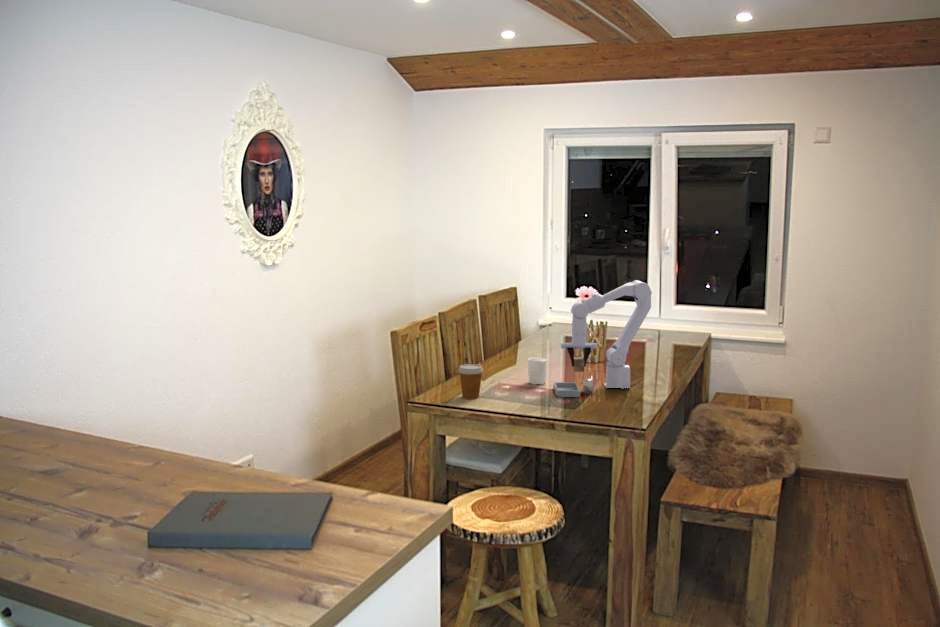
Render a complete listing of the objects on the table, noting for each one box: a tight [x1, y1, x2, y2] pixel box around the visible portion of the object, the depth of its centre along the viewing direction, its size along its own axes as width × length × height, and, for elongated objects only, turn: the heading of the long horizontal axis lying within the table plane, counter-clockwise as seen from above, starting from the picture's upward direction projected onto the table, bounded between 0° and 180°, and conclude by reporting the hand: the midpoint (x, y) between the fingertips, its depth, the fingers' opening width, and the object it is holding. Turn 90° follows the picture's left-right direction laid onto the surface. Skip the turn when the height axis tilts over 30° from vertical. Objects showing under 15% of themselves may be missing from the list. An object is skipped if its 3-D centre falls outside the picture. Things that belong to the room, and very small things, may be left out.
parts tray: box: [553, 381, 581, 398], centre depth 311 cm, size 9×14×2 cm, turn 179°
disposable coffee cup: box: [458, 363, 484, 400], centre depth 303 cm, size 10×10×12 cm
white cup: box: [527, 356, 548, 385], centre depth 327 cm, size 8×8×10 cm
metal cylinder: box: [582, 378, 594, 394], centre depth 312 cm, size 4×4×5 cm
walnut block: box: [572, 356, 585, 373], centre depth 319 cm, size 4×4×5 cm
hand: (578, 366), depth 319 cm, fingers closed on walnut block, 4 cm apart
